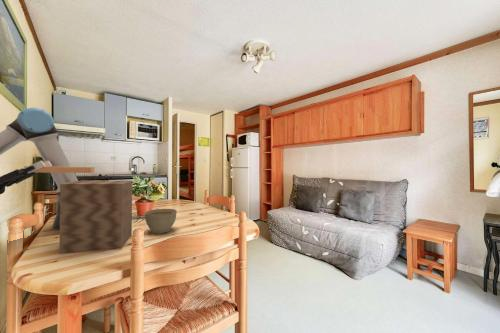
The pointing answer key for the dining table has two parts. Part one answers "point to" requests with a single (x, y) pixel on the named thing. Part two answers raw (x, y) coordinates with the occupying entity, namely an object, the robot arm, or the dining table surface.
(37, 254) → the dining table surface
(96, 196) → the walnut stand
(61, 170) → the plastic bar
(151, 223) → the planter bowl
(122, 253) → the dining table surface
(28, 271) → the dining table surface
